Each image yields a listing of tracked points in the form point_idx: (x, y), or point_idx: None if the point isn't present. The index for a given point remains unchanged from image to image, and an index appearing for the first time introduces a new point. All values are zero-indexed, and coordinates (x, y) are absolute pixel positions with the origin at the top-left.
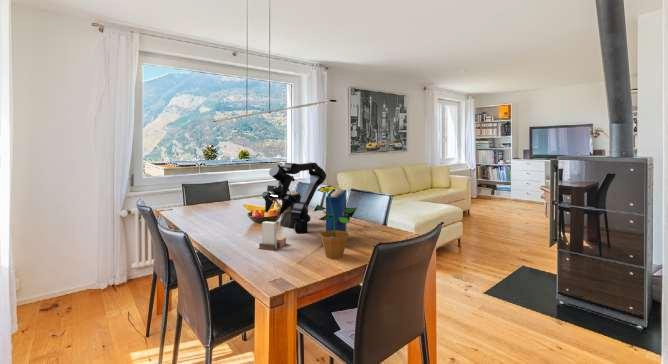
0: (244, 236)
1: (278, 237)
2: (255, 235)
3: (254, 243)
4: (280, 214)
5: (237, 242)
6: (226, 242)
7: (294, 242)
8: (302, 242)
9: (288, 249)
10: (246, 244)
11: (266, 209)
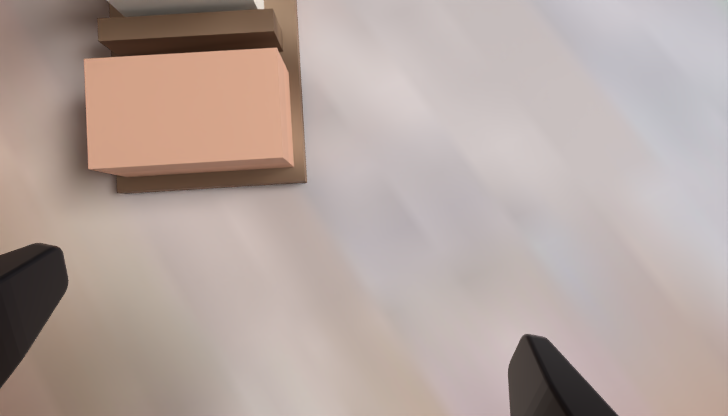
0: (709, 288)
1: (169, 137)
2: (630, 370)
3: (457, 121)
4: (44, 282)
5: (627, 82)
6: (722, 39)
7: (116, 312)
8: (42, 345)
9: (57, 90)
10: (506, 63)
11: (542, 385)
